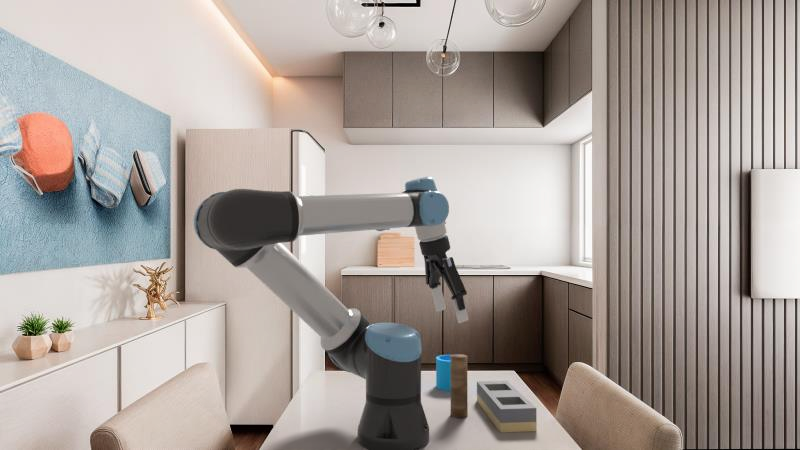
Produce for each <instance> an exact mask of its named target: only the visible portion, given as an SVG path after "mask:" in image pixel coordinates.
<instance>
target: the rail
mask: <svg viewBox="0 0 800 450" xmlns="http://www.w3.org/2000/svg"><path fill="white" fill-rule="evenodd" d="M476 402H477V403H478V404H479V407H481V408H482V410H483V411H484V413H486V415H487V417H488V418H489V419H490V420H491V422H492V423H493V424H494V426H495V427H496V429H497V430H498V431H499V432H500V433H513V432H514V433H516V432H517V433H518V432H519V433H520V432H524V433H525V432H537V431H538V430H537V407H536V406H535V405H534V404H533V403H532V402H530V400H528V398H527V397H525V396H524V395H523V394H522V393H521V392H520V391H519V390H518V389H517V388H516V387H515V386H514V385H512V384H511V383H510V382H509V381H508V380H487V381H486V380H485V381H484V380H483V381H482V380H481V381H478V380H477V381H476Z"/></svg>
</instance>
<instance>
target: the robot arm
mask: <svg viewBox="0 0 800 450" xmlns="http://www.w3.org/2000/svg"><path fill="white" fill-rule="evenodd" d="M404 187H405V190H404V191H402V192H390V193H361V194H360V193H359V194H358V193H357V194H354V193H353V194H330V195H325V194H324V195H300V196H299V195H297V196H296V195H295V193H293V192H292V191H289V190H288V191H279V190H278V191H276V190H275V191H274V190H273V191H272V190H258V189H251V188H250V189H248V188H234V189H231V190H228V191H227V190H226V191H219V192H216V193H213V194H211V195H210V196H209V197H207V198H205V199H204V200H203V201H202V202H201V203H200V204H199V205H198V207H197V209H196V211H195V213H194V218H193V228H194V231H195V234H196V235H197V238H198V239H199V240H200V242H202V244H204V245H205V246H206V247H209V249H212V250H216V251H217V253H219V254H220V255H221V256H222V257H223V258H225V260H226V261H228V263H230V264H231V265H232V266H233V267H234V268H246V269H248V271H250V272H251V273H252V274H253V275H254V276H255V277H256V278H257V279H259V281H260V282H261V283H262V284H264V285H265V286H266V287H267V288H268V289H269V290H270V291H271V292H272V293H273V294H274V295H275V296H276V297H277V298H279V300H281V302H282V303H284V304H285V305H286V306H287V307H288V308H289V309H290V310H291V311H293V313H294V314H296V315H297V316H298V317H299V318H300V319H301V320H302V321H303V322H304V323H306V324H307V326H309V328H310V329H312V330H313V332H315V333H316V334H317V335H318V336H319V337H320V345H321V348H322V349H323V351H325V352H326V353H327V354H328V357H329V358H330V360H331V361H332V363H334V365H335V366H336V367H338V368H339V369H341V370H342V371H344V372H347V373H351V374H354V375H355V376H358V377H360V378H363V379H364V380H365V404H364V407H363V410H362V413H361V416H360V421H359V424H358V427H357V442H358V444H360V446H362V447H364V448H366V449H368V450H417V449H420V448H423V447H424V446H425V445H427V444H428V443H429V441H430V426H429V423H428V420H427V416H426V413H425V409H424V406H423V404H422V351H423V348H422V341H421V335H420V333H419V332H418V330H417V329H415V327H413V326H412V327H411V326H410V325H407V324H403V323H396V322H377V323H372V322H371V321H370V320H369V319H368V318H367V317H366V316H365V315H364V314H363V313H362V312H361V311H360V310H359V309H358V308H354V307H353V308H347V307H346V306H345V305H344V304H343V303H342V302H341V301H340V299H339V298H337V297H336V296H335V294H333V293H332V292H331V291H330V290H329V288H327V287H326V286H325V285H324V283H322V282H321V281H320V279H318V278H317V277H316V275H314V274H313V273H312V272H311V271H310V270H309V269H308V268H307V267H306V265H304V264H303V263H302V262H301V261H300V260H299V259H298V258H297V257H296V256H295V255H294V254H293V253H292V252H291V251H290V250H289V249H288V248H287V247H286V246H285V245H284V244H283V243H293V242H295V241H297V239H298V237H299V236H312V235H326V234H337V233H350V232H360V231H361V232H362V231H377V232H383V231H390V229H399V228H400V229H401V228H415V232H416V233H415V234H416V236H417V237H416V238H417V240H419V243H418V244H419V247H420V251H421V255H422V256H423V260H424V270H425V271H424V272H425V284H426V285H427V286H428V287H429V289H430V290H431V291H430V292H431V294H432V295H431V296H432V299H433V304H434V307H435V311H436V312H437V313H439V312H443V311H444V310H447V307H446V301H445V297H444V294H443V290H442V286H441V285H442V283H441V281H440V278H443V280H444V281H445V283H446V285H447V287H448V289H449V291H450V293H451V295H452V296H451V300H452V303H453V308H454V311H455V316H456V320H457V324H462V323H465V322H468V321H469V316H468V315H469V314H468V311H467V307H466V302H465V297H464V296H466V295H468V292H467V290H466V288H465V285H464V282H463V281H462V278H461V276H460V274H459V271H458V269H457V267H456V264H455V260H454V258H453V257H452V256H450V257H448V256H447V254H446V253H447V252H448V251H450V249H451V243H450V241H449V236H448V235H447V234H446V233H447V228H446V223H447V222H446V220H447V218H448V216H449V213H450V206H449V201H448V199H447V197H446V196H445V195H444V194H443V193H442V192H440V191H438V189H437V186H436V182H435V179H434V178H433V177H432V176H423V177H419V178H416V179H412V180H408V181H406V182H405V184H404Z"/></svg>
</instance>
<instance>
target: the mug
mask: <svg viewBox="0 0 800 450" xmlns="http://www.w3.org/2000/svg"><path fill="white" fill-rule="evenodd" d="M451 355H452V354H442V355H437V356H436V357H435V359H436V360H435V363H436V364H435V370H436V371H435V377H436V379H435V381H436V382H435V388H437V389H438V390H441V391H447V392H451V364H450V356H451Z"/></svg>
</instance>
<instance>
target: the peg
mask: <svg viewBox="0 0 800 450" xmlns="http://www.w3.org/2000/svg"><path fill="white" fill-rule="evenodd" d="M450 355H451V356H450V364H451V391H450V417H452V418H456V419H465V418H467V417H468V414H469V413H468V410H469V409H468V355H465V354H460V353H459V354H458V353H457V354H450Z"/></svg>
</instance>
